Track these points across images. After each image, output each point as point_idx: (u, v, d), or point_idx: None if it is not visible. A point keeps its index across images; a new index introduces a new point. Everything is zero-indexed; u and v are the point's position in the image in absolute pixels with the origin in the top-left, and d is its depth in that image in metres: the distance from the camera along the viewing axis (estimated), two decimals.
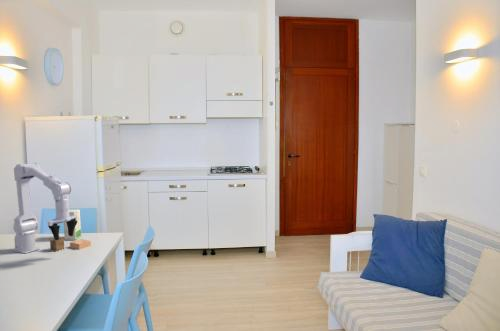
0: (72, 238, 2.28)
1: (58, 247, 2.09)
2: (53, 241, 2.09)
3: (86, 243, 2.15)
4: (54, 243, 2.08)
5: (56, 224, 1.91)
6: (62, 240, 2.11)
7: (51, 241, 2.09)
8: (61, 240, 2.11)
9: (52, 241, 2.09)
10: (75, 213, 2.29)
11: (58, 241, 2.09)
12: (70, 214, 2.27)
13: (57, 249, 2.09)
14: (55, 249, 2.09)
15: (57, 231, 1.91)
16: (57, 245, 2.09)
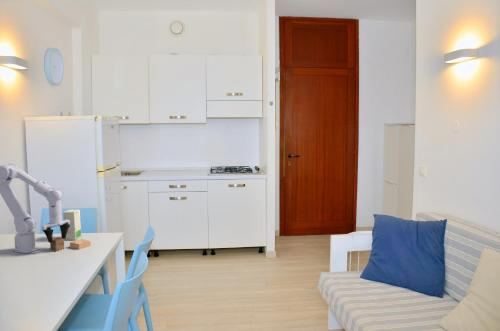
0: (72, 238, 2.28)
1: (58, 247, 2.09)
2: (53, 241, 2.09)
3: (86, 243, 2.15)
4: (54, 243, 2.08)
5: (50, 228, 2.06)
6: (62, 240, 2.11)
7: None
8: (61, 240, 2.11)
9: (52, 241, 2.09)
10: (75, 213, 2.29)
11: (58, 241, 2.09)
12: (70, 214, 2.27)
13: (57, 249, 2.09)
14: (55, 249, 2.09)
15: (51, 234, 2.06)
16: (57, 245, 2.09)
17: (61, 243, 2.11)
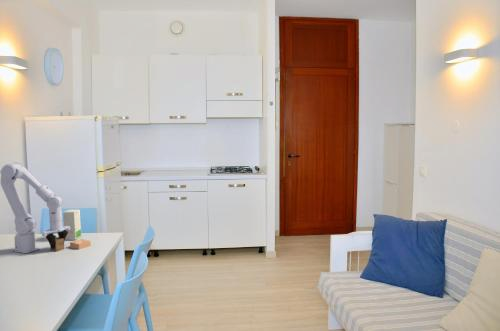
0: (72, 238, 2.28)
1: (58, 246, 2.09)
2: None
3: (86, 243, 2.15)
4: None
5: (52, 234, 2.08)
6: (62, 240, 2.11)
7: None
8: (61, 240, 2.10)
9: None
10: (75, 213, 2.29)
11: (58, 241, 2.09)
12: (70, 214, 2.27)
13: (57, 249, 2.09)
14: (55, 249, 2.09)
15: (53, 240, 2.07)
16: (57, 245, 2.09)
17: (61, 243, 2.11)
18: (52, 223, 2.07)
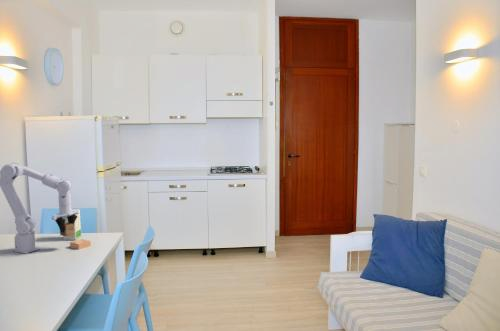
0: (72, 238, 2.28)
1: (68, 232, 2.10)
2: None
3: (86, 243, 2.15)
4: (64, 227, 2.10)
5: (62, 218, 2.09)
6: (72, 225, 2.12)
7: None
8: (71, 225, 2.12)
9: None
10: None
11: (68, 226, 2.10)
12: None
13: (67, 234, 2.10)
14: (65, 234, 2.10)
15: (63, 224, 2.08)
16: (67, 230, 2.10)
17: (71, 228, 2.12)
18: (61, 207, 2.08)
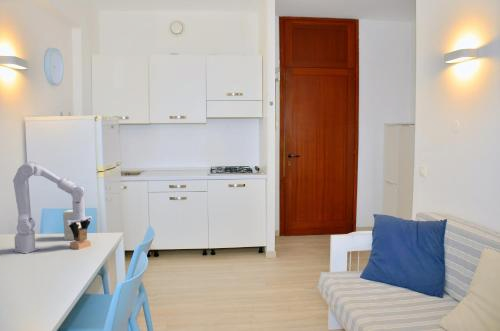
0: (72, 238, 2.28)
1: (81, 237, 2.14)
2: None
3: (86, 243, 2.15)
4: None
5: (75, 223, 2.12)
6: (85, 230, 2.16)
7: None
8: (84, 230, 2.15)
9: None
10: None
11: (81, 231, 2.14)
12: (70, 214, 2.27)
13: (80, 239, 2.13)
14: (78, 239, 2.13)
15: (76, 229, 2.12)
16: (80, 235, 2.13)
17: (84, 233, 2.15)
18: (75, 212, 2.12)
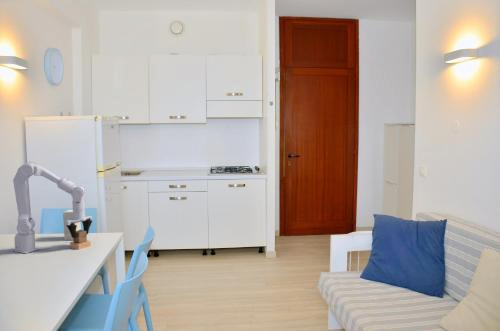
0: (72, 238, 2.28)
1: (81, 239, 2.14)
2: (76, 233, 2.13)
3: (86, 243, 2.15)
4: (77, 235, 2.13)
5: (73, 223, 2.11)
6: (85, 232, 2.16)
7: None
8: (84, 232, 2.15)
9: None
10: None
11: (81, 233, 2.14)
12: (70, 214, 2.27)
13: (80, 241, 2.13)
14: (78, 241, 2.13)
15: (74, 230, 2.11)
16: (80, 237, 2.13)
17: (84, 235, 2.15)
18: (75, 212, 2.12)
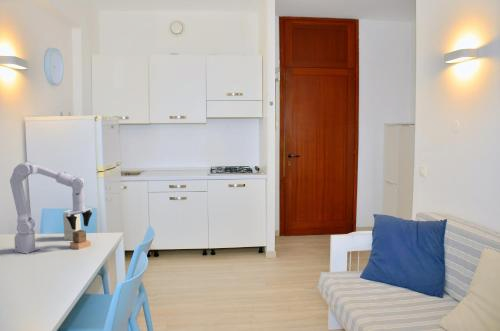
0: (72, 238, 2.28)
1: (80, 239, 2.14)
2: (76, 233, 2.13)
3: (86, 243, 2.15)
4: (76, 235, 2.13)
5: (73, 215, 2.11)
6: (84, 232, 2.16)
7: (74, 233, 2.14)
8: (83, 232, 2.15)
9: (75, 233, 2.14)
10: None
11: (80, 233, 2.14)
12: None
13: (80, 241, 2.13)
14: (78, 241, 2.13)
15: (74, 221, 2.10)
16: (80, 237, 2.13)
17: (83, 235, 2.15)
18: (75, 204, 2.11)
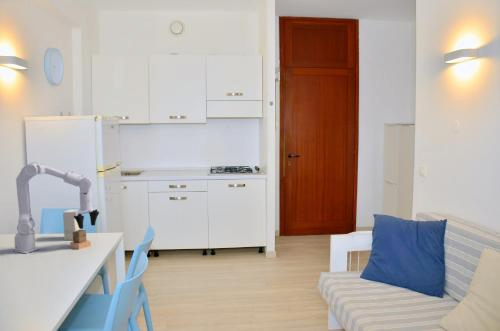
0: (72, 238, 2.28)
1: (81, 238, 2.14)
2: (76, 233, 2.13)
3: (86, 243, 2.15)
4: (77, 234, 2.13)
5: None
6: (84, 232, 2.16)
7: (74, 233, 2.14)
8: (83, 232, 2.15)
9: (75, 233, 2.14)
10: None
11: (81, 233, 2.14)
12: (70, 214, 2.27)
13: (80, 241, 2.14)
14: (78, 241, 2.13)
15: (82, 221, 2.12)
16: (80, 237, 2.13)
17: (83, 235, 2.16)
18: (83, 203, 2.13)
